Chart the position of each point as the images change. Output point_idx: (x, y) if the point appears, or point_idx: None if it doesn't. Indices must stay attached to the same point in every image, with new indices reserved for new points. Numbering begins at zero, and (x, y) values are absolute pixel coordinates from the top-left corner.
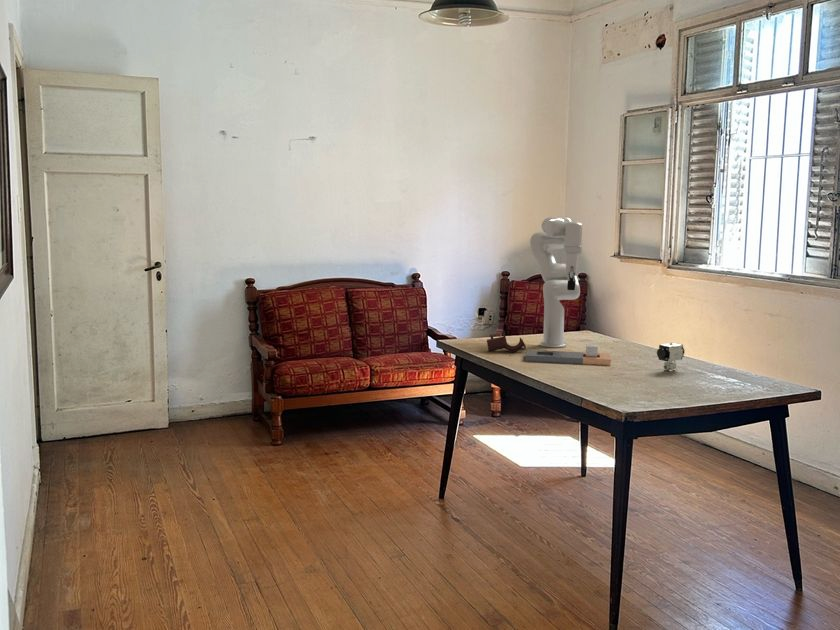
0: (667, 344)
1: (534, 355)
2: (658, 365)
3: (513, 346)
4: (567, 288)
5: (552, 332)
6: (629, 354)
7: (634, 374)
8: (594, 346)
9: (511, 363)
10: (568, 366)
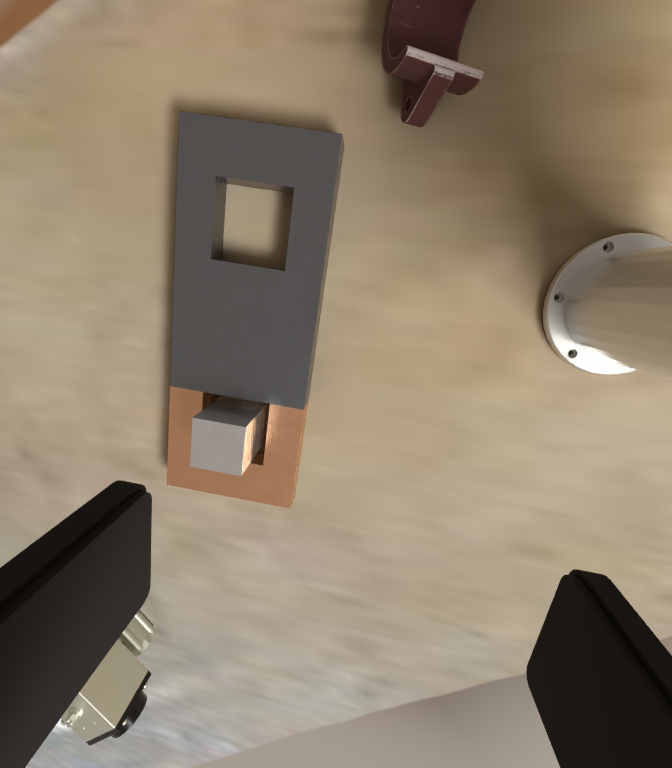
0: (78, 703)
1: (191, 163)
2: (210, 615)
3: (387, 33)
4: (102, 491)
5: (609, 297)
6: (393, 580)
7: (57, 514)
8: (197, 454)
9: (130, 44)
10: (127, 316)
